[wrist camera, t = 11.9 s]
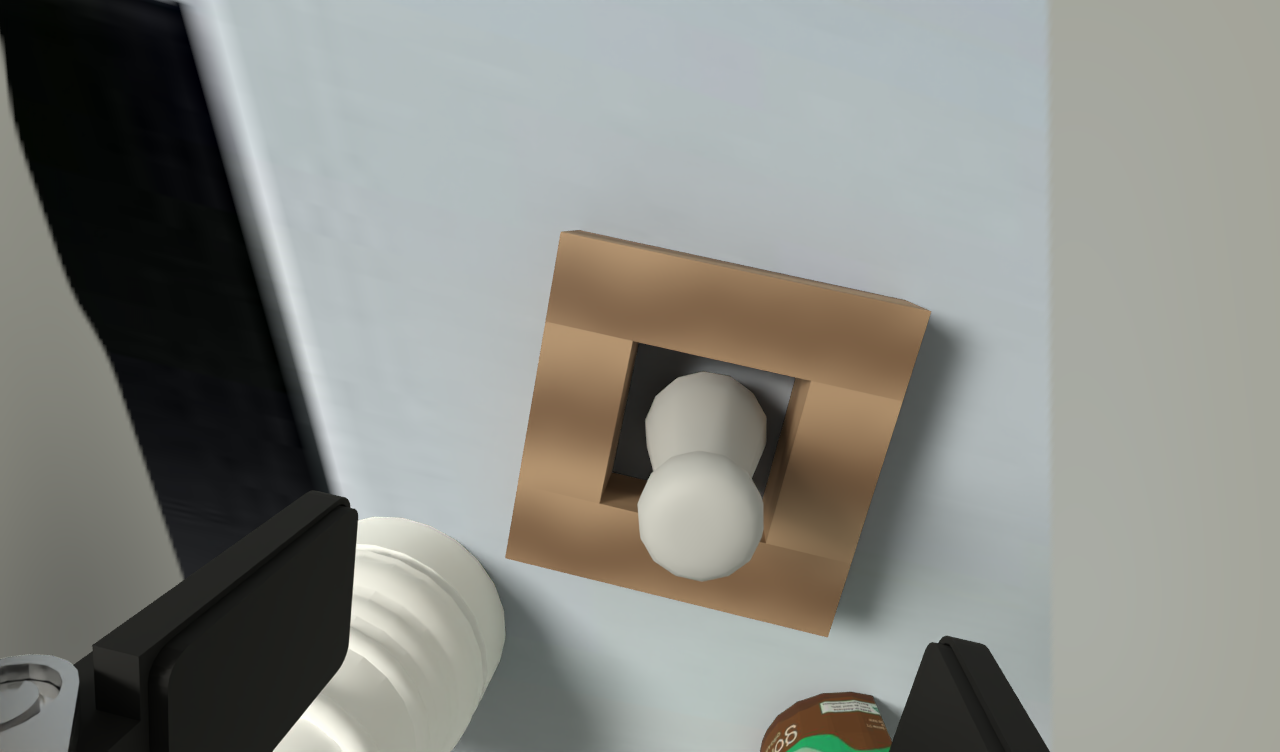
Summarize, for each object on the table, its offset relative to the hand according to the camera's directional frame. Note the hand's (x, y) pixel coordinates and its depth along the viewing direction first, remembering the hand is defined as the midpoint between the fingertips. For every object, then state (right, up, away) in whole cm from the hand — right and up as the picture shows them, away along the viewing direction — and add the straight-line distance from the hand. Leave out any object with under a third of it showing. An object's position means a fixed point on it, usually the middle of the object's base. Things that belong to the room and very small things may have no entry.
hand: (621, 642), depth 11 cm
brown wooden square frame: (+4, +2, +23) cm, 24 cm away
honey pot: (-14, -10, +28) cm, 33 cm away
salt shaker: (+4, +2, +24) cm, 24 cm away
